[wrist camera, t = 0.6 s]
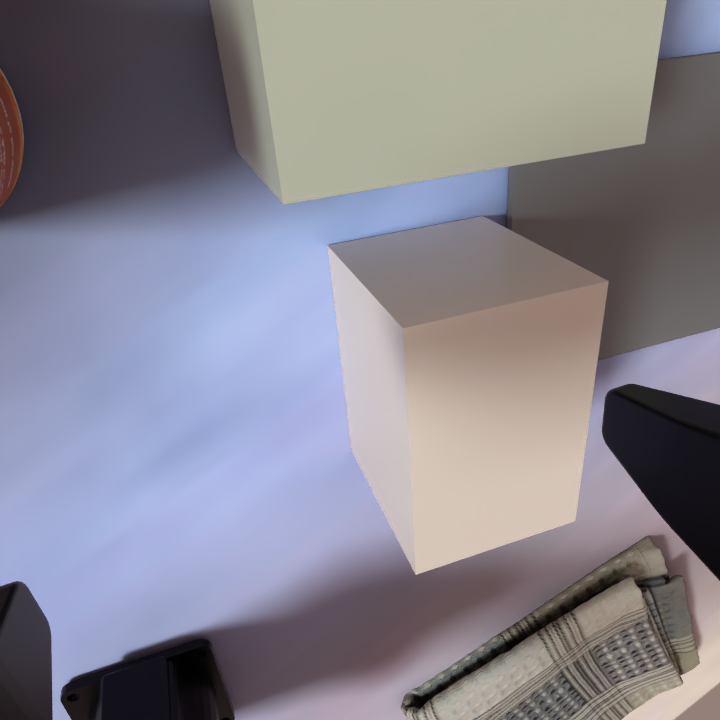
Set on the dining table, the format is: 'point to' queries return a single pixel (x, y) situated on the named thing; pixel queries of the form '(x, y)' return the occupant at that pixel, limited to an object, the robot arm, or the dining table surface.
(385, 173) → the pale green block
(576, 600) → the dish towel
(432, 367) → the upright cream box
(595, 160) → the slate mat
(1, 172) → the pill bottle
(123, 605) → the dining table surface
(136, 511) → the dining table surface
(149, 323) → the dining table surface
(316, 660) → the dining table surface
